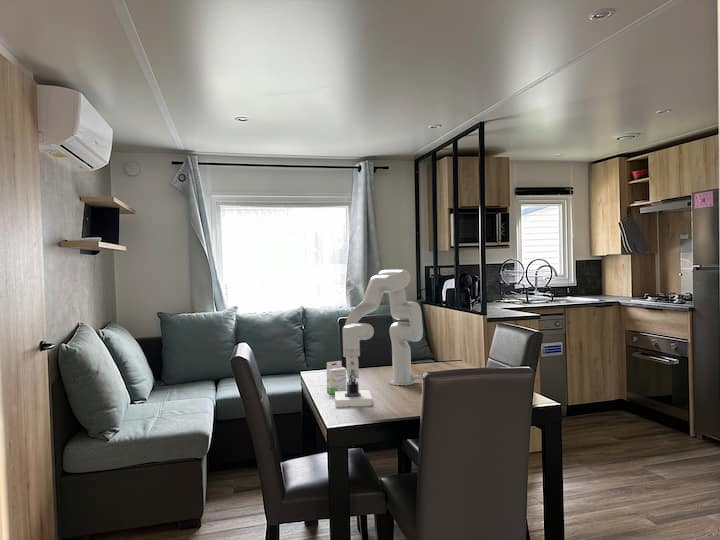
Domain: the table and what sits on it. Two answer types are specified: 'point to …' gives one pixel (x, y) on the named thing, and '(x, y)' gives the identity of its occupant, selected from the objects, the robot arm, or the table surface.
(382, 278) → the robot arm
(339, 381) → the ink box
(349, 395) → the plug
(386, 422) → the table surface
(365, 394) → the socket
